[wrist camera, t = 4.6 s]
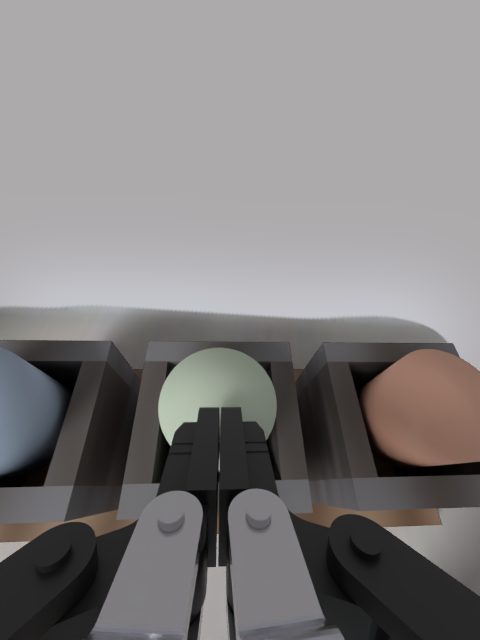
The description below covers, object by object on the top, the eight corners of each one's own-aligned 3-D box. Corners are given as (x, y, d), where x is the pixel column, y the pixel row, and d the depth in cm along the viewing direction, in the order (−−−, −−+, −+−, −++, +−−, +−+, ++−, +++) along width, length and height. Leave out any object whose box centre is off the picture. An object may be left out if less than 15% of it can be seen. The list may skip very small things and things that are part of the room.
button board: (-22, 540, 17) (-225, 586, 9) (43, 373, 22) (-48, 316, 15) (432, 522, 19) (579, 548, 11) (383, 373, 24) (457, 322, 17)
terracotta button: (363, 469, 14) (418, 463, 10) (342, 380, 16) (379, 348, 13) (450, 467, 14) (535, 460, 10) (416, 380, 17) (474, 349, 13)
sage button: (169, 474, 13) (149, 469, 9) (179, 380, 16) (166, 347, 12) (265, 472, 14) (282, 466, 10) (259, 380, 16) (271, 347, 12)
